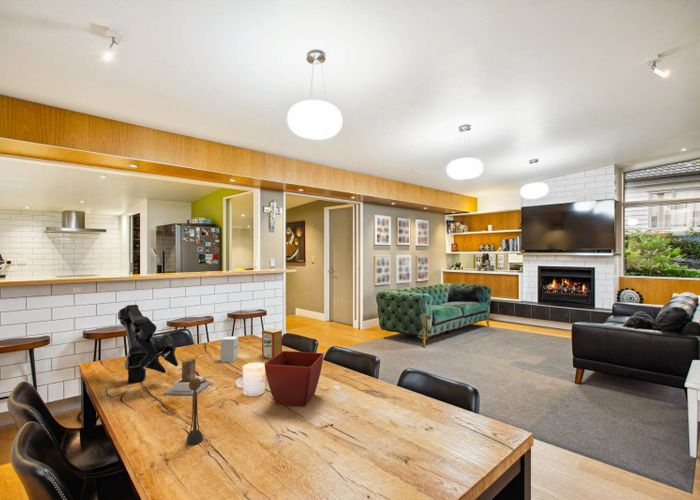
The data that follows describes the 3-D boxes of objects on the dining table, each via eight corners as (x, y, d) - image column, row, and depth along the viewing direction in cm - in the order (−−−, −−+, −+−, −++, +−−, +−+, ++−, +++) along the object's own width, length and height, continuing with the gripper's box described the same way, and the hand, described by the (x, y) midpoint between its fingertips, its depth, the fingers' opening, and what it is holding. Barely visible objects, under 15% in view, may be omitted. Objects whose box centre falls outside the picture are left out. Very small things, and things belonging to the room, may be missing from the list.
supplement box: (233, 362, 192) (233, 339, 192) (220, 362, 192) (220, 339, 192) (238, 358, 199) (238, 336, 200) (225, 358, 200) (225, 336, 200)
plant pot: (310, 411, 131) (310, 367, 131) (263, 407, 135) (263, 363, 135) (324, 392, 150) (324, 353, 150) (282, 388, 154) (282, 350, 154)
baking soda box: (281, 357, 200) (281, 330, 200) (273, 360, 195) (273, 332, 195) (270, 355, 206) (270, 328, 206) (262, 357, 200) (262, 329, 201)
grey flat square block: (163, 394, 148) (163, 385, 148) (182, 382, 162) (182, 373, 162) (195, 395, 146) (195, 386, 146) (211, 383, 160) (211, 374, 160)
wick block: (181, 388, 152) (181, 361, 152) (186, 385, 156) (186, 358, 156) (190, 389, 152) (190, 361, 152) (195, 385, 156) (195, 358, 156)
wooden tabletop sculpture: (200, 434, 115) (200, 373, 115) (208, 438, 112) (209, 376, 112) (183, 442, 110) (183, 378, 110) (191, 446, 107) (191, 381, 108)
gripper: (146, 335, 146) (171, 362, 145) (172, 326, 165) (194, 350, 164) (128, 354, 147) (153, 381, 146) (156, 343, 165) (178, 366, 164)
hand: (171, 368), depth 155 cm, fingers open, 9 cm apart
